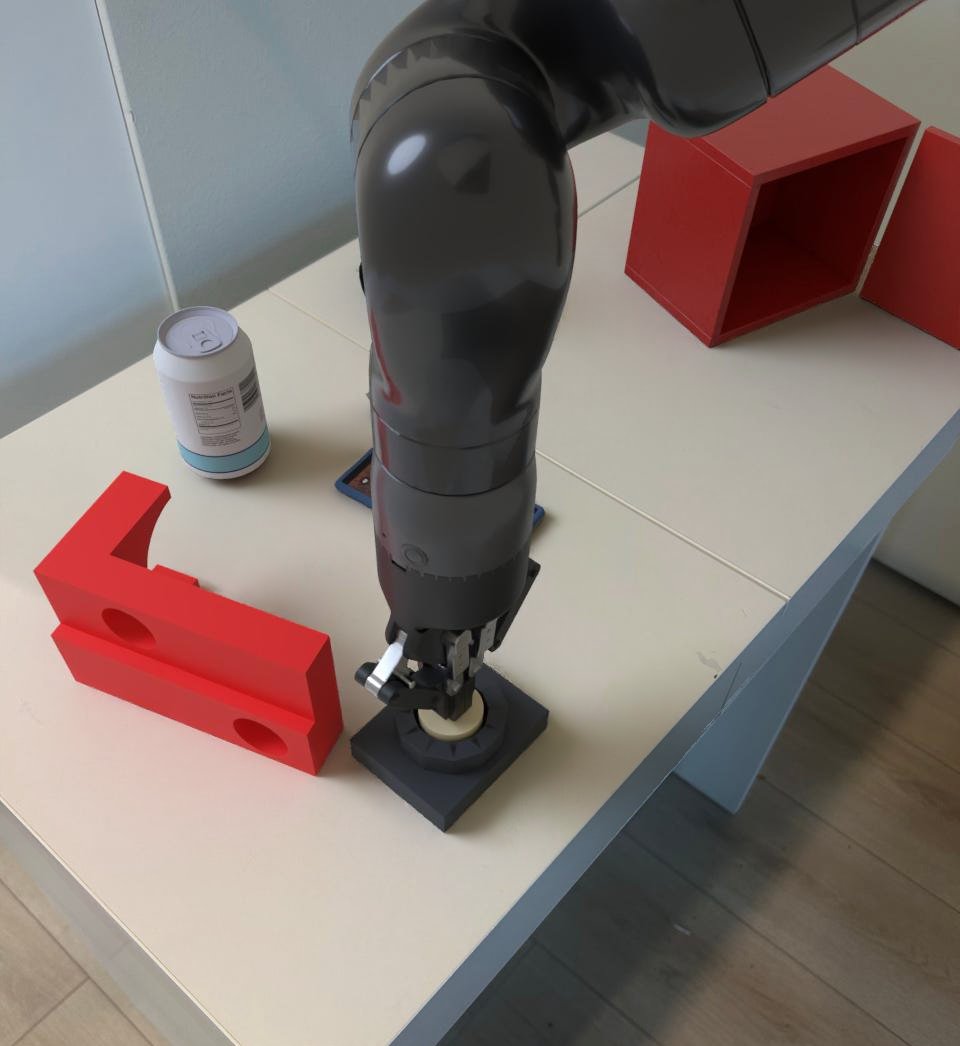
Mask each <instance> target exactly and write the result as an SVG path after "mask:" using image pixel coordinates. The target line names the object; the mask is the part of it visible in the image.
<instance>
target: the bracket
mask: <svg viewBox="0 0 960 1046" xmlns="http://www.w3.org/2000/svg"><path fill="white" fill-rule="evenodd" d="M171 499H172V494H171V492H170V488H169V486H168V485H167V484H164V483H161V482H158V481H155V480H152V479H149V478H147V477H144V476H141V475H138V474H135V473H132V472H128V471H126V470H122V471H121V472H120V473H119V475H118V476H117V477H116V478H115V479H114V480H113V481H112V482H111V483H110V484H109V486H107V488H106V489H105V490H104V491H103V492H102V493H101V495H99V497H98V498H97V499H96V500H95V501H94V502H93V503H92V504H91V505H90V507H88V508H87V510H86V511H85V512H84V513H83V514H82V515H81V517H80V518H79V519H78V520H77V521H76V522H75V523H74V524H73V525H72V527H70V529H69V530H68V531H67V532H66V533H65V534H64V536H62V538H61V539H60V540H59V541H58V542H57V543H56V544H55V546H53V548H52V549H51V550H50V551H49V552H48V553H47V554H46V555H45V557H44V558H43V559H42V560H41V561H40V562H39V563H38V564H37V565H36V567H35V568H34V569H33V570H32V573H33V574H34V576H35V578H36V580H37V582H38V583H39V585H40V587H41V589H42V591H43V593H44V595H45V597H46V598H47V600H48V602H49V604H50V606H51V608H52V610H53V612H54V614H55V616H56V617H57V619H58V622H59V624H58V625H57V626H56V628H54V630H53V631H52V632H51V634H50V637H51V638H52V641H53V642H54V644H55V646H56V648H57V650H58V652H59V654H60V655H61V657H62V659H63V661H64V663H65V665H66V666H67V668H68V670H69V671H70V673H71V675H72V677H73V679H74V681H75V682H78V683H81V684H83V685H86V686H88V687H90V688H93V689H96V690H98V691H101V692H103V693H106V694H108V695H110V696H113V697H116V698H118V699H120V700H123V701H124V702H125V701H126V702H128V703H130V704H133V705H136V706H138V707H140V708H143V709H145V710H149V711H151V712H153V713H156V714H158V715H160V716H162V717H166V718H168V719H170V720H173V721H176V722H178V723H181V724H183V725H186V726H189V727H191V728H193V729H196V730H198V731H200V732H202V733H203V732H204V733H206V734H208V735H211V736H213V737H216V738H218V739H220V740H224V741H226V742H229V743H231V744H233V745H235V746H238V747H240V748H244V749H246V750H249V751H251V752H254V753H256V754H259V755H261V756H263V757H265V758H268V759H271V760H273V761H275V762H277V763H281V764H283V765H285V766H289V767H290V768H293V769H295V770H298V771H301V772H303V773H306V774H309V775H311V776H313V777H317V776H318V774H319V772H320V771H321V769H322V767H323V765H324V763H325V762H326V760H327V759H328V757H329V755H330V753H331V751H332V750H333V748H334V746H335V745H336V743H337V741H338V739H339V738H340V736H341V734H342V732H343V731H344V729H345V725H344V718H343V712H342V706H341V699H340V693H339V685H338V680H337V674H336V668H335V667H336V666H335V661H334V656H333V655H334V654H333V649H332V642H331V636H330V635H329V634H327V633H324V632H322V631H319V630H317V629H315V628H311V627H308V626H306V625H302V624H301V623H297V622H295V621H292V620H289V619H286V618H284V617H281V616H278V615H275V614H273V613H271V612H267V611H265V610H262V609H260V608H257V607H254V606H251V605H249V604H246V603H242V602H240V601H237V600H235V599H231V598H230V597H227V596H223V595H221V594H218V593H215V592H212V591H211V590H207V589H205V588H202V587H201V586H200V583H199V580H198V578H197V577H194V576H191V575H189V574H187V573H183V572H180V571H178V570H174V569H172V568H170V567H167V566H164V565H162V564H159V563H157V564H155V566H154V567H153V568H152V569H150V568H149V566H148V564H149V563H148V558H149V551H150V550H149V549H150V545H151V540H152V537H153V533H154V530H155V528H156V525H157V523H158V521H159V518H160V516H161V515H162V513H163V510H164V509H165V507H166V506H167V504H168V503H169V501H170V500H171Z"/></svg>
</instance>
